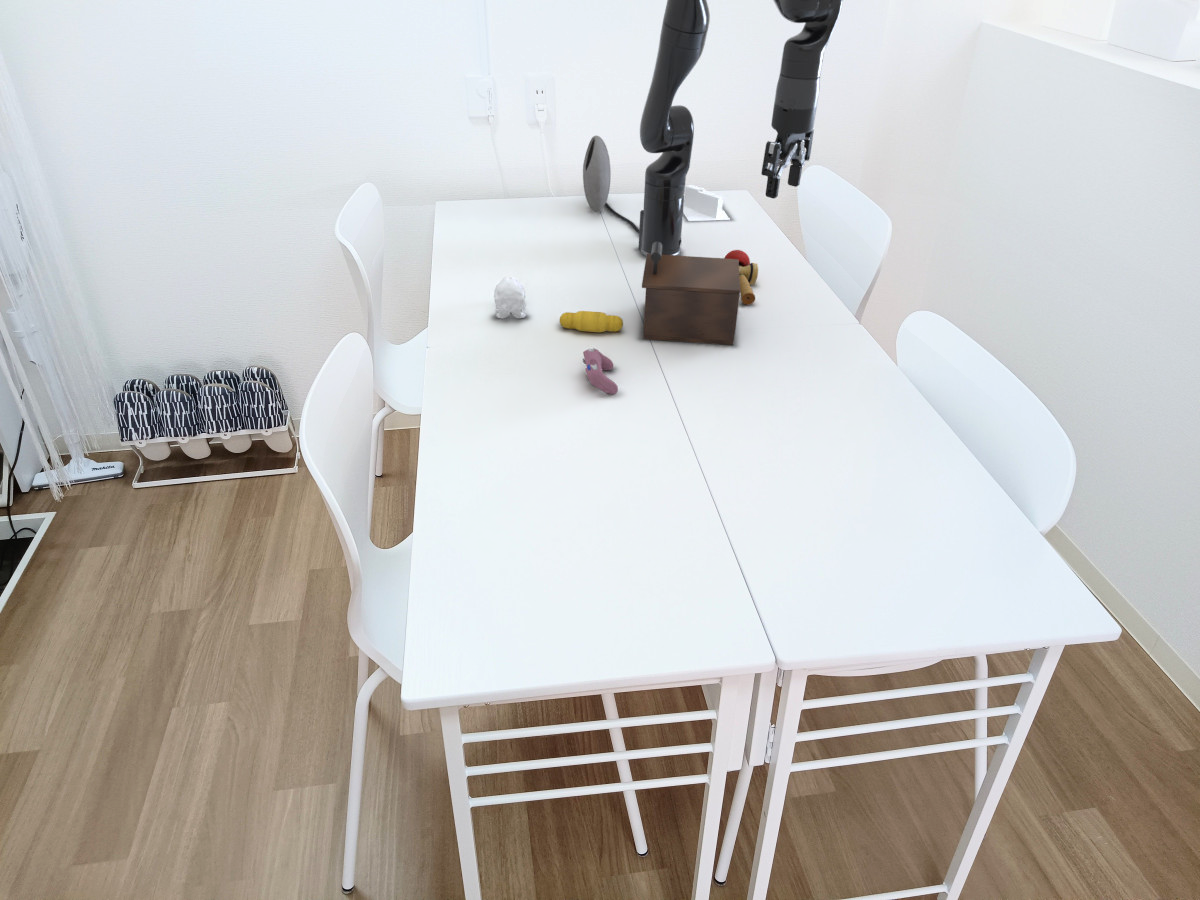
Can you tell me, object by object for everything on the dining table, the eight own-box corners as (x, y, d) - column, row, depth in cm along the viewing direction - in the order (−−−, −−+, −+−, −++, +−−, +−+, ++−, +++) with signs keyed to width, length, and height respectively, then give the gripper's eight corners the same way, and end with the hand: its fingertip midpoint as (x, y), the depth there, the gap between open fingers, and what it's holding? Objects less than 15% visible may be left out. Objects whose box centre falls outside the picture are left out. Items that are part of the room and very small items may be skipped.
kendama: (768, 309, 186) (752, 264, 199) (767, 285, 182) (751, 240, 195) (732, 315, 187) (718, 270, 200) (730, 291, 182) (717, 246, 195)
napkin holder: (731, 219, 226) (733, 198, 222) (688, 221, 224) (690, 199, 221) (715, 199, 238) (717, 178, 234) (675, 201, 236) (676, 180, 233)
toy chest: (642, 339, 172) (645, 288, 165) (647, 306, 184) (650, 257, 177) (733, 345, 170) (739, 294, 164) (732, 311, 182) (737, 263, 176)
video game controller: (593, 375, 163) (576, 346, 159) (615, 365, 162) (599, 335, 158) (597, 403, 155) (580, 373, 151) (620, 393, 154) (603, 363, 150)
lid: (641, 287, 165) (643, 261, 162) (646, 257, 177) (647, 231, 174) (739, 294, 164) (743, 267, 161) (737, 262, 176) (741, 237, 173)
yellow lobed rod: (557, 333, 173) (557, 314, 171) (560, 323, 176) (560, 305, 174) (621, 337, 172) (622, 319, 170) (623, 327, 175) (624, 309, 173)
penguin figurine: (492, 283, 171) (496, 263, 181) (494, 323, 175) (497, 302, 185) (524, 283, 171) (526, 264, 181) (525, 323, 175) (527, 302, 186)
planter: (581, 197, 237) (581, 126, 226) (607, 197, 237) (609, 127, 226) (584, 222, 222) (584, 148, 211) (611, 222, 222) (614, 148, 211)
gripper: (796, 90, 161) (783, 177, 170) (757, 105, 152) (745, 196, 161) (833, 98, 157) (817, 186, 167) (795, 113, 148) (781, 206, 158)
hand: (782, 191), depth 164 cm, fingers open, 8 cm apart
